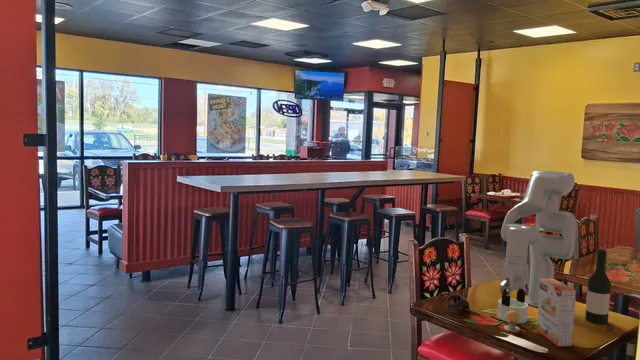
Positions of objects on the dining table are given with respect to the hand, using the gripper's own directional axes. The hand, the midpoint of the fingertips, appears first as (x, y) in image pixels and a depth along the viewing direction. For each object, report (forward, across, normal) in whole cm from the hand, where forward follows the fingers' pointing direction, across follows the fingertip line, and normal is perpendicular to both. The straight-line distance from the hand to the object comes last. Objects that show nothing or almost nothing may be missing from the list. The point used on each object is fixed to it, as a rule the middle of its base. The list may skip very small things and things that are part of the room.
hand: (513, 303), depth 184 cm
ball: (+5, -1, 0) cm, 5 cm away
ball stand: (+10, -1, 0) cm, 10 cm away
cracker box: (+10, -6, +13) cm, 18 cm away
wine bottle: (+10, -40, +13) cm, 43 cm away
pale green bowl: (+10, -12, -7) cm, 17 cm away
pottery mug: (+10, +1, -25) cm, 27 cm away
